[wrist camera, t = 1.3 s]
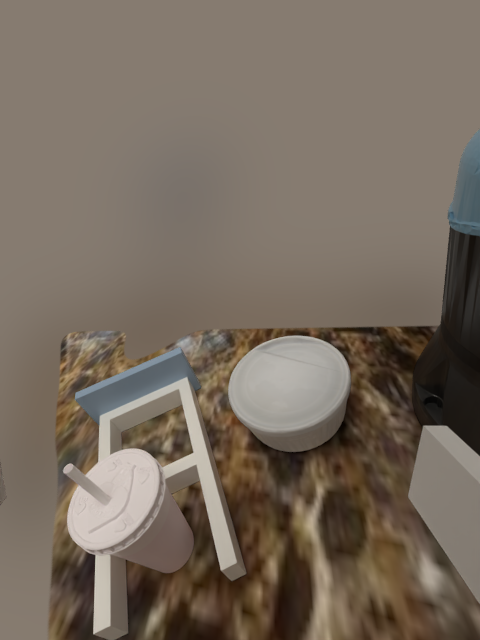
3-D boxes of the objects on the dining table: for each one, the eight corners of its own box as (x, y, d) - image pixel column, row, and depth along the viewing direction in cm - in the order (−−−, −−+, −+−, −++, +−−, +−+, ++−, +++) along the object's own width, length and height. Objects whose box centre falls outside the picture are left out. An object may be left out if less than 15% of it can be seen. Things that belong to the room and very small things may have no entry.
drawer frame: (199, 382, 41) (180, 347, 38) (256, 568, 25) (233, 538, 22) (104, 424, 40) (75, 392, 37) (101, 646, 24) (49, 629, 21)
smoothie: (120, 575, 27) (-4, 499, 19) (162, 495, 32) (75, 403, 23) (186, 610, 24) (74, 539, 16) (222, 517, 29) (149, 421, 20)
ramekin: (341, 359, 38) (336, 324, 35) (369, 455, 29) (366, 419, 26) (243, 377, 40) (229, 345, 37) (242, 471, 31) (224, 440, 28)
